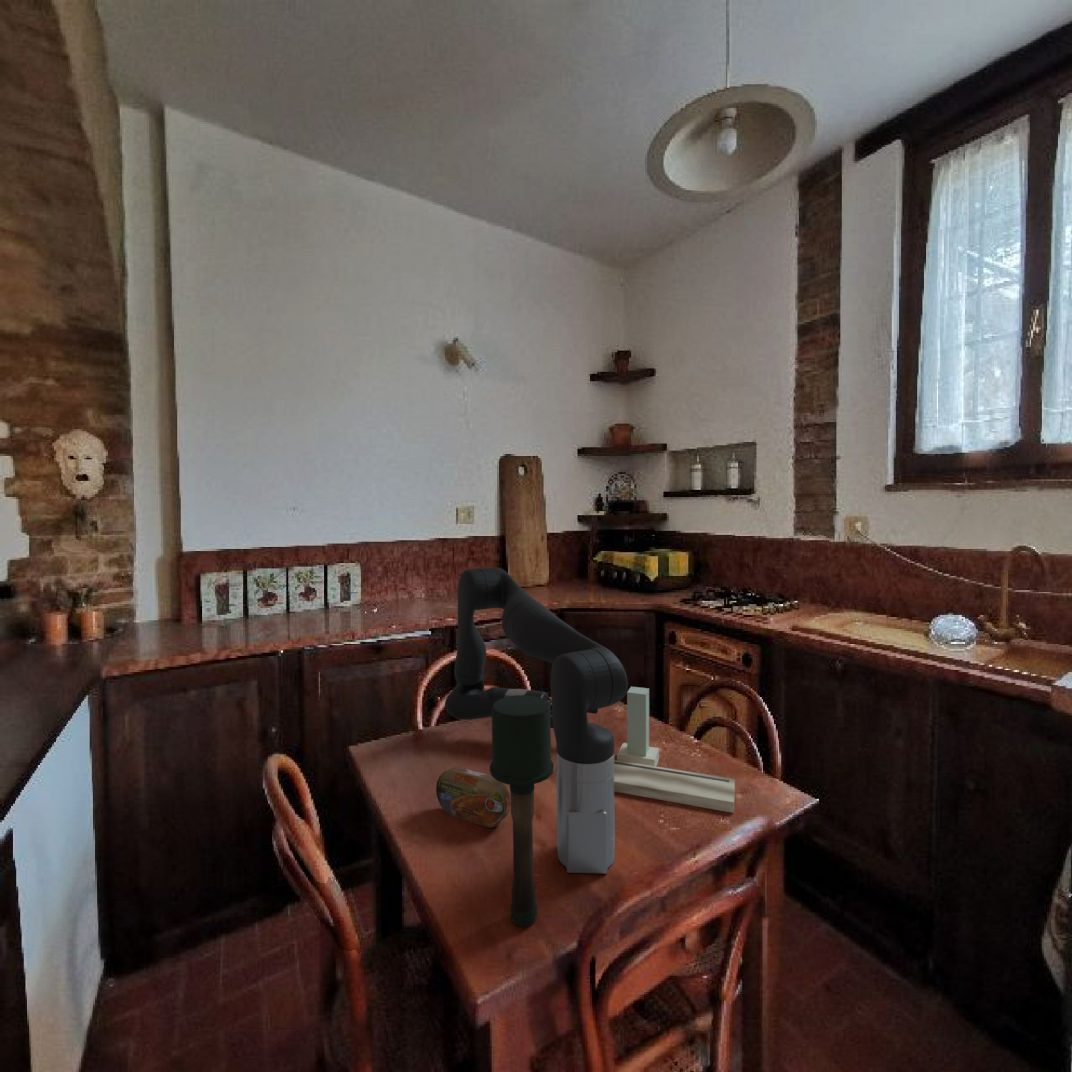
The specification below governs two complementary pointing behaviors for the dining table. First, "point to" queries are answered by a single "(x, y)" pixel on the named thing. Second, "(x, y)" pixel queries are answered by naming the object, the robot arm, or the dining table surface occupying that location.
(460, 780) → the tin
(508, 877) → the dining table surface
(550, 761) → the stick grenade
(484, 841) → the dining table surface
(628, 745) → the grey pillar on base
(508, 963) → the dining table surface
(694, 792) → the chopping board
